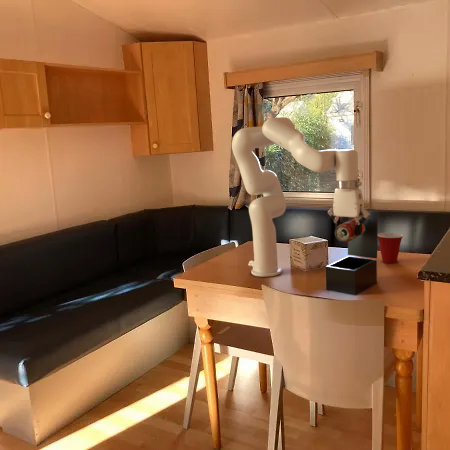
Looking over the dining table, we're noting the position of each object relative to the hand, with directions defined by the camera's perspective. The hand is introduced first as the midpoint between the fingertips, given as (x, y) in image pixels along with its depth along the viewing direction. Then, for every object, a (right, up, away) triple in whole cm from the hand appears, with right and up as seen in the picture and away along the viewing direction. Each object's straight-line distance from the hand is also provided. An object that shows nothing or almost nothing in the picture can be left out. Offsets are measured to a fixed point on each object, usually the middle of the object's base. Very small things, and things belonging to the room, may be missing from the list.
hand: (348, 233), depth 178 cm
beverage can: (0, -2, 0) cm, 2 cm away
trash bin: (+2, -19, +4) cm, 20 cm away
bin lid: (+7, 0, +7) cm, 10 cm away
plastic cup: (+26, -12, +32) cm, 43 cm away
